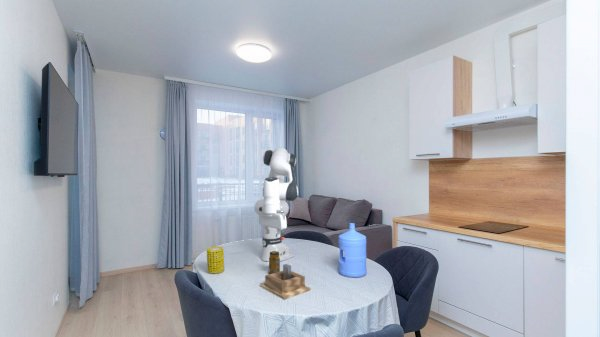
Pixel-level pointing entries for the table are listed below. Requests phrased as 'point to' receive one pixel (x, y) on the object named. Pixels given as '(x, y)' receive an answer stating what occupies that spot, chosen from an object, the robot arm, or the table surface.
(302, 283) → the box
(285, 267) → the bracket
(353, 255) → the water jug
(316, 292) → the table surface
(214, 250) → the food
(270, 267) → the condiment
